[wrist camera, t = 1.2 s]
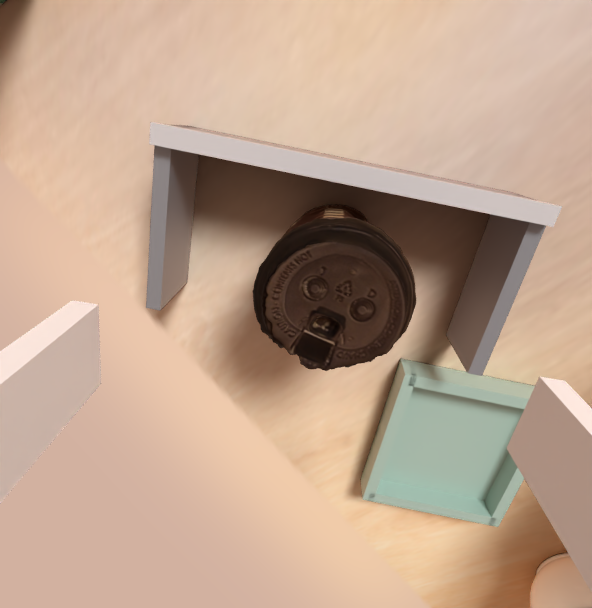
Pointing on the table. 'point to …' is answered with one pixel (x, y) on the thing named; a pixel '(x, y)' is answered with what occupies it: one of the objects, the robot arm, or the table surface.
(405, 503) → the tray
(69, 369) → the robot arm
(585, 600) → the lidded jar
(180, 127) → the bay
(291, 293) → the coffee cup
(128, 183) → the table surface
